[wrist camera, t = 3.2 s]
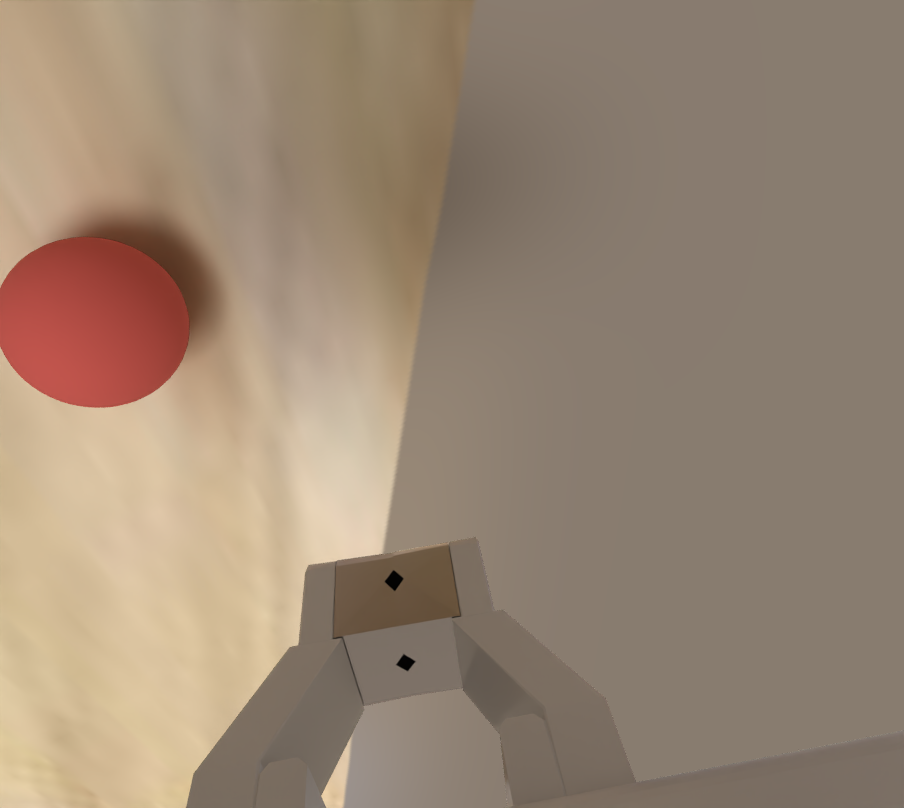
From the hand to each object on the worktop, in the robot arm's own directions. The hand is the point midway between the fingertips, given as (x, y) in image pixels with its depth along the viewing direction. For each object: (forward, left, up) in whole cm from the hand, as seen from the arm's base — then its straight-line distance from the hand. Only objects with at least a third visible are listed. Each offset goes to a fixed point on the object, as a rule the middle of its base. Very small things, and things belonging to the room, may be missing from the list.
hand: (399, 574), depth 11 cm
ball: (0, -10, -14) cm, 17 cm away
